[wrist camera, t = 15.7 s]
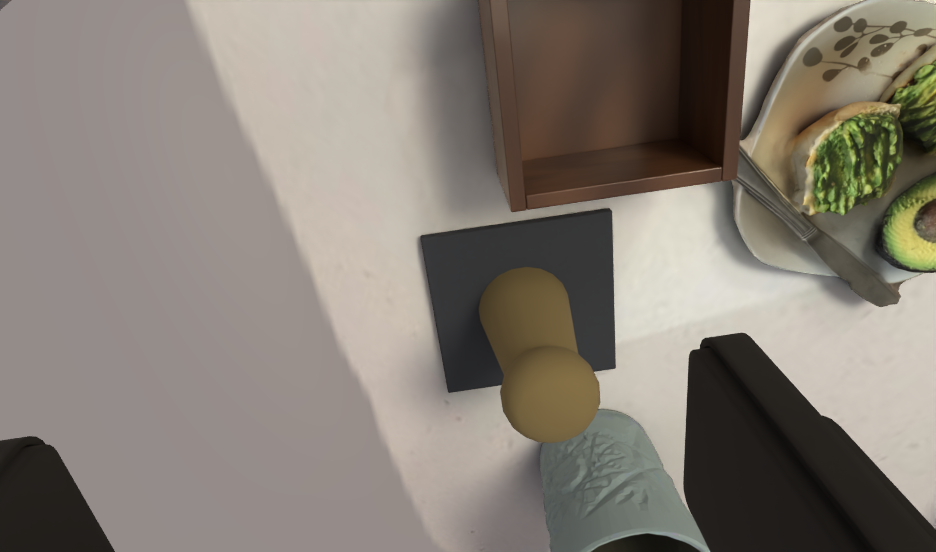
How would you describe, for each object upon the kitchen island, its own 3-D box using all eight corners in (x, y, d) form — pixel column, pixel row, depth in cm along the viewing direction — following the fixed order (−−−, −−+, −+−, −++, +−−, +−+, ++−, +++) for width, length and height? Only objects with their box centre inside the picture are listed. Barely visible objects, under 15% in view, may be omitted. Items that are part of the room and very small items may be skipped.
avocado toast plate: (650, 258, 40) (676, 291, 36) (760, -42, 32) (810, -45, 28) (906, 301, 42) (958, 336, 38) (1063, 35, 35) (1149, 42, 31)
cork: (493, 356, 42) (514, 474, 32) (466, 283, 39) (481, 387, 29) (577, 331, 41) (626, 442, 31) (557, 254, 38) (602, 350, 29)
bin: (497, 174, 36) (511, 212, 31) (473, -41, 31) (484, -45, 25) (686, 146, 36) (737, 179, 31) (694, -73, 31) (757, -84, 25)
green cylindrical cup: (650, 493, 49) (713, 636, 39) (527, 505, 49) (556, 654, 38) (658, 393, 45) (732, 524, 34) (523, 406, 44) (554, 543, 34)
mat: (448, 388, 43) (448, 393, 43) (420, 235, 38) (420, 239, 37) (613, 364, 43) (615, 368, 43) (609, 207, 38) (612, 211, 37)
